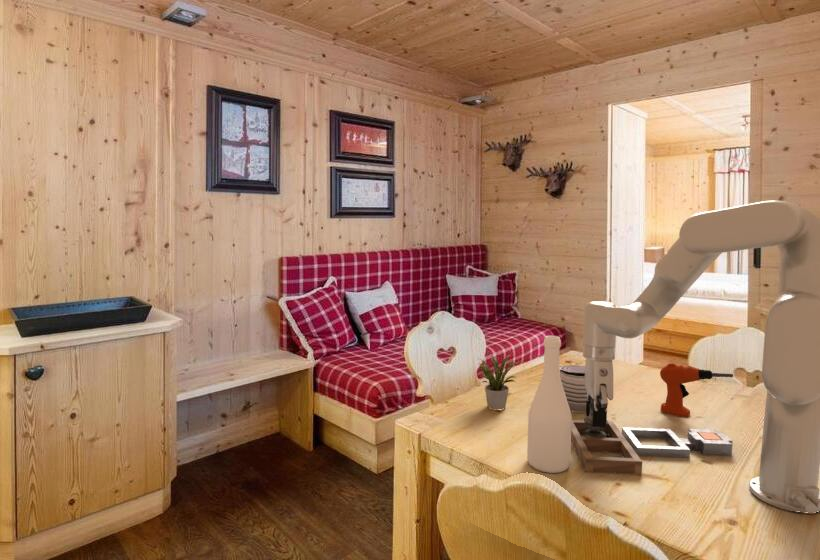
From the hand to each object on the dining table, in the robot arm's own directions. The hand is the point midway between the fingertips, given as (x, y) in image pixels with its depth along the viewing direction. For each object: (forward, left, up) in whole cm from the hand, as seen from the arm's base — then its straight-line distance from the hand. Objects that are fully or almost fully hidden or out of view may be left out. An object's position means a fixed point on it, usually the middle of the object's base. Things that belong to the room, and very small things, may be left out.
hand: (595, 420), depth 130 cm
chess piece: (0, 0, -4) cm, 4 cm away
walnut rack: (-5, 0, -6) cm, 8 cm away
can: (+25, -1, -6) cm, 25 cm away
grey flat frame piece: (-1, -20, -6) cm, 20 cm away
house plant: (+22, +22, -6) cm, 31 cm away
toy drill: (+20, -32, -6) cm, 38 cm away
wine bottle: (-14, +14, -6) cm, 20 cm away
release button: (-1, -27, -5) cm, 28 cm away
